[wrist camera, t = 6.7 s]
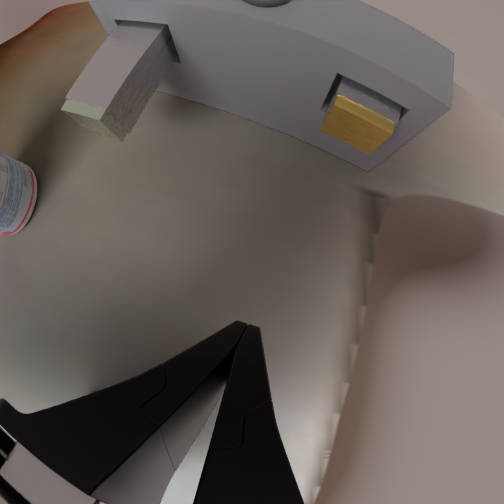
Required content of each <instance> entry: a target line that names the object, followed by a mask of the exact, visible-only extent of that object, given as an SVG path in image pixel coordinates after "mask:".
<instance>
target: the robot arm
mask: <svg viewBox="0 0 504 504" xmlns="http://www.w3.org/2000/svg"><path fill="white" fill-rule="evenodd" d="M223 391H224V394H223V397H222V401H221V405H220V409H219V412H218V416H217V420H216V423H215V427H214V430H213V434H212V438H211V441H210V445H209V449H208V452H207V456H206V459H205V463H204V466H203V470H202V474H201V477H200V481H199V484H198V488H197V491H196V495H195V499H194V502H193V504H304V502H303V499H302V496H301V494H300V491H299V488H298V485H297V483H296V480H295V477H294V474H293V471H292V469H291V466H290V463H289V460H288V457H287V454H286V452H285V449H284V446H283V443H282V440H281V437H280V434H279V430H278V427H277V423H276V419H275V414H274V409H273V403H272V398H271V392H270V386H269V380H268V374H267V368H266V361H265V355H264V349H263V343H262V337H261V331H260V328H259V327H257V326H254V325H251V324H249V325H247V323H244V322H241V321H235V322H233V323H231V324H230V325H228V326H226V327H225V328H223V329H221V330H220V331H218V332H216V333H215V334H213V335H211V336H209V337H208V338H206V339H204V340H203V341H201V342H199V343H197V344H196V345H194V346H192V347H191V348H189V349H187V350H185V351H184V352H182V353H180V354H178V355H176V356H175V357H173V358H171V359H169V360H168V361H166V362H164V363H163V364H160V365H158V366H156V367H154V368H152V369H150V370H148V371H146V372H144V373H142V374H140V375H138V376H136V377H133V378H131V379H129V380H126V381H124V382H121V383H119V384H116V385H113V386H111V387H108V388H105V389H102V390H100V391H97V392H94V393H91V394H89V395H86V396H83V397H80V398H77V399H74V400H71V401H68V402H65V403H62V404H59V405H56V406H53V407H50V408H47V409H44V410H41V411H37V412H34V413H30V414H23V413H20V412H18V411H17V410H16V409H15V408H14V407H13V406H12V405H10V404H9V403H8V402H7V401H6V400H5V399H3V398H1V399H0V425H1V426H2V427H3V428H4V429H5V430H6V431H7V432H8V433H9V434H10V435H11V436H12V437H13V438H14V439H15V440H17V441H16V442H15V441H14V440H13V439H12V438H11V437H10V436H9V435H8V434H7V433H6V432H5V431H4V430H3V429H2V428H1V427H0V504H160V502H161V500H162V497H163V495H164V493H165V491H166V488H167V486H168V484H169V482H170V480H171V478H172V476H173V475H174V473H175V471H176V470H177V468H178V467H179V465H180V463H181V462H182V460H183V459H184V457H185V455H186V454H187V452H188V450H189V449H190V447H191V446H192V444H193V442H194V441H195V439H196V437H197V436H198V434H199V432H200V431H201V429H202V427H203V426H204V424H205V422H206V421H207V419H208V417H209V416H210V414H211V412H212V410H213V409H214V407H215V405H216V404H217V402H218V400H219V398H220V397H221V395H222V393H223Z"/></svg>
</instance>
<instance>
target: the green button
mask: <svg viewBox="0 0 504 504" xmlns="http://www.w3.org/2000/svg"><path fill="white" fill-rule="evenodd" d="M177 57H178V53H177V50H176V47H175V44H174V41H173V38H172V35H171V32H170V29H169V26H168V24H161V23H152V22H142V21H130V20H122V21H121V22H120V23H119V24H118V26H117V27H116V28H115V29H114V30H113V31H112V33H111V34H110V35H109V36H108V38H107V39H106V40H105V41H104V43H103V44H102V45H101V46H100V48H99V49H98V50H97V52H96V53H95V54H94V56H93V57H92V58H91V60H90V61H89V62H88V64H87V65H86V67H85V68H84V70H83V71H82V72H81V74H80V75H79V77H78V78H77V80H76V81H75V83H74V84H73V86H72V88H71V89H70V91H69V92H68V94H67V96H66V97H65V99H66V102H65V104H64V105H63V107H62V109H61V110H62V111H63V112H64V113H65V114H67V115H68V116H69V117H70V118H71V119H73V120H74V121H75V122H76V123H78V124H79V125H80V126H81V127H82V128H84V129H85V130H87V131H90V132H93V133H96V134H99V135H102V136H105V137H108V138H111V139H114V140H117V141H120V142H123V140H124V138H125V136H126V134H127V133H130V132H131V130H132V129H133V127H134V125H135V123H136V122H137V120H138V118H139V116H140V115H141V113H142V111H143V110H144V108H145V106H146V105H147V103H148V101H149V100H150V98H151V96H152V95H153V93H154V92H155V90H156V88H157V87H158V85H159V84H160V82H161V81H162V79H163V78H164V76H165V75H166V73H167V72H168V70H169V69H170V67H171V66H172V65H173V63H174V62H175V60H176V59H177Z"/></svg>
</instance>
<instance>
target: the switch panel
mask: <svg viewBox="0 0 504 504" xmlns="http://www.w3.org/2000/svg"><path fill="white" fill-rule="evenodd" d="M88 2H89V3H90V5H91V7H92V8H93V10H94V12H95V13H96V15H97V17H98V18H99V20H100V22H101V23H102V25H103V27H104V28H105V30H106V32H107V33H108V35H110V34H111V33H112V31H113V30H114V29H115V28H116V27H117V26H118V24H119V23H120V22H121V21H122V20H130V21H142V22H152V23H161V24H168V26H169V29H170V32H171V35H172V38H173V41H174V44H175V47H176V50H177V53H178V57H177V59H176V60H175V62H174V63H173V65H172V66H171V67H170V69H169V70H168V72H167V73H166V75H165V76H164V78H163V79H162V81H161V82H160V84H159V85H158V87H157V88H156V90H155V91H159V92H163V93H167V94H170V95H174V96H178V97H181V98H185V99H188V100H191V101H195V102H198V103H201V104H205V105H208V106H211V107H214V108H217V109H220V110H223V111H226V112H229V113H232V114H235V115H238V116H241V117H243V118H246V119H249V120H252V121H254V122H257V123H260V124H262V125H265V126H267V127H270V128H273V129H275V130H278V131H280V132H283V133H285V134H287V135H290V136H292V137H295V138H297V139H299V140H302V141H304V142H306V143H309V144H311V145H313V146H315V147H318V148H320V149H322V150H324V151H326V152H329V153H331V154H333V155H335V156H337V157H339V158H341V159H343V160H345V161H347V162H349V163H352V164H354V165H356V166H358V167H359V168H361V169H363V170H365V171H367V172H369V171H370V170H372V169H373V168H374V167H376V166H377V165H378V164H380V163H381V162H382V161H383V160H385V159H386V158H387V157H389V156H390V155H391V154H393V153H394V152H395V151H396V150H398V149H399V148H400V147H402V146H403V145H404V144H406V143H407V142H408V141H409V140H411V139H412V138H413V137H415V136H416V135H417V134H418V133H420V132H421V131H422V130H424V129H425V128H426V127H428V126H429V125H430V124H431V123H433V122H434V121H435V120H437V119H438V118H439V117H440V116H442V115H443V114H444V113H446V112H447V111H448V110H449V109H451V99H452V87H453V70H454V53H453V52H451V51H450V50H449V49H447V48H446V47H444V46H443V45H441V44H440V43H438V42H437V41H435V40H433V39H432V38H430V37H429V36H427V35H425V34H424V33H422V32H420V31H419V30H417V29H415V28H413V27H412V26H410V25H408V24H406V23H404V22H403V21H401V20H399V19H397V18H395V17H393V16H391V15H389V14H387V13H385V12H383V11H381V10H379V9H377V8H375V7H373V6H370V5H368V4H366V3H364V2H361V1H359V0H89V1H88ZM340 75H343V76H345V77H347V78H350V79H352V80H354V81H356V82H358V83H360V84H362V85H364V86H366V87H368V88H370V89H372V90H374V91H376V92H378V93H380V94H382V95H384V96H385V97H387V98H389V99H391V100H393V101H394V102H396V103H398V104H400V105H401V106H402V109H401V113H400V117H399V122H398V124H397V125H396V126H395V127H394V130H393V133H392V135H391V136H390V137H389V138H388V139H387V140H385V141H384V142H383V143H382V144H381V145H380V146H379V147H378V148H377V149H375V150H374V151H373V152H372V153H371V154H370V155H369V154H367V153H365V152H363V151H361V150H359V149H357V148H355V147H353V146H351V145H349V144H347V143H345V142H343V141H341V140H338V139H336V138H334V137H332V136H330V135H328V134H326V133H323V132H321V131H320V130H321V128H322V125H323V122H322V120H323V117H324V115H325V112H326V110H327V108H328V105H329V103H330V100H331V98H332V95H333V93H334V90H335V88H336V85H337V83H338V80H339V78H340Z"/></svg>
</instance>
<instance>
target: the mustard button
mask: <svg viewBox="0 0 504 504" xmlns="http://www.w3.org/2000/svg"><path fill="white" fill-rule="evenodd" d="M401 109H402V106H401V105H400V104H398V103H396V102H394V101H393V100H391V99H389V98H387V97H385V96H384V95H382V94H380V93H378V92H376V91H374V90H372V89H370V88H368V87H366V86H364V85H362V84H360V83H358V82H356V81H354V80H352V79H350V78H347V77H345V76H343V75H340V78H339V80H338V83H337V85H336V88H335V90H334V93H333V95H332V98H331V100H330V103H329V105H328V108H327V110H326V112H325V115H324V117H323V120H322V122H323V125H322V128H321V130H320V131H321V132H323V133H326V134H328V135H330V136H332V137H334V138H336V139H338V140H341V141H343V142H345V143H347V144H349V145H351V146H353V147H355V148H357V149H359V150H361V151H363V152H365V153H367V154H369V155H370V154H371V153H372V152H373V151H374V150H375V149H377V148H378V147H379V146H380V145H381V144H382V143H383V142H384V141H385V140H387V139H388V138H389V137H390V136H391V135H392V133H393V130H394V127H395V126H396V125H397V124H398V122H399V117H400V113H401Z"/></svg>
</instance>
